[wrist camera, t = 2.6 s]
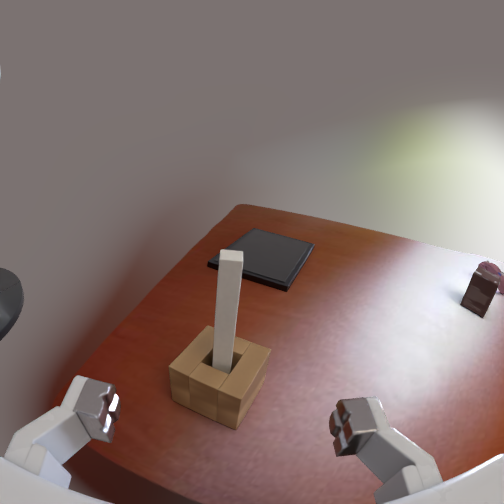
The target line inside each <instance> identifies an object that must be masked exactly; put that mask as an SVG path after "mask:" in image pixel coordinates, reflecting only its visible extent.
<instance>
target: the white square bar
mask: <svg viewBox="0 0 504 504" xmlns="http://www.w3.org/2000/svg"><path fill="white" fill-rule="evenodd" d="M242 268H243V251H234V250H223V249H221V251H220V258H219V269H218V283H217V297H216V312H215V327H214V345H213V364H212V367H213V368H215V369H218V370H220V371H222V372H225V373H227V374H230V372H231V363H232V355H233V346H234V337H235V328H236V320H237V311H238V302H239V294H240V285H241V277H242Z"/></svg>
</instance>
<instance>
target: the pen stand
mask: <svg viewBox="0 0 504 504" xmlns="http://www.w3.org/2000/svg"><path fill="white" fill-rule="evenodd" d="M213 345H214V328H213V327H210V326H207V327H206V328H205V329H204V330H203V331H202V332H201V333H200V334H199V335H198V336H197V337H196V338H195V339H194V340H193V342H192V343H191V344H190V345H189V346H188V347H187V348H186V349H185V350H184V351H183V352H182V353H181V354H180V355H179V356H178V357H177V358H176V359H175V360H174V361H173V362H172V363H171V365H170V366H169V374H170V383H171V392H172V400H173V401H175V402H177V403H179V404H181V405H183V406H185V407H187V408H189V409H191V410H193V411H195V412H197V413H199V414H201V415H203V416H205V417H208V418H210V419H212V420H214V421H217V422H219V423H221V424H223V425H225V426H228V427H230V428H232V429H235V430H236V429H237V428H238V426H239V425H240V423H241V421H242V420H243V418H244V416H245V414H246V413H247V411H248V409H249V408H250V406H251V404H252V402H253V401H254V399H255V397H256V395H257V394H258V392H259V390H260V388H261V386H262V385H263V383H264V379H265V374H266V370H267V366H268V361H269V357H270V352H271V349H269V348H266V347H263V346H260V345H257V344H255V343H251V342H249V341H246V340H244V339H241V338H238V337H236V336H235V337H234V346H233V355H232V363H231V372H230V374H227V373H225V372H222V371H220V370H218V369H215V368H213V367H212V364H213Z"/></svg>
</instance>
